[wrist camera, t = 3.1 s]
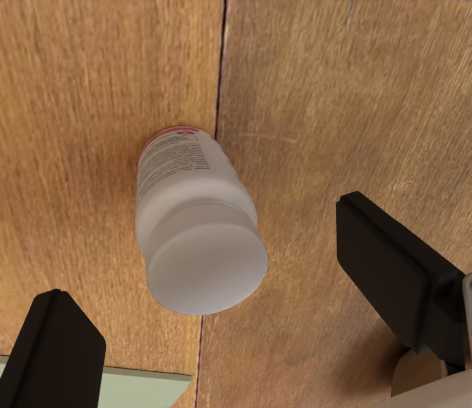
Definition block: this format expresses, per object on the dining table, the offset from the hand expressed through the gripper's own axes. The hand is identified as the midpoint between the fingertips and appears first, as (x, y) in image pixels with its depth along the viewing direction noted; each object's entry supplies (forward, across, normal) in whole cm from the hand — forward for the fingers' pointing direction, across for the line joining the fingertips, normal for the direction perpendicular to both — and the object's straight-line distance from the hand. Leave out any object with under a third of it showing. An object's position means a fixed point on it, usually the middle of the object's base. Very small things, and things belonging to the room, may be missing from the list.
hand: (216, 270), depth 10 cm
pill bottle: (+8, 0, -1) cm, 8 cm away
